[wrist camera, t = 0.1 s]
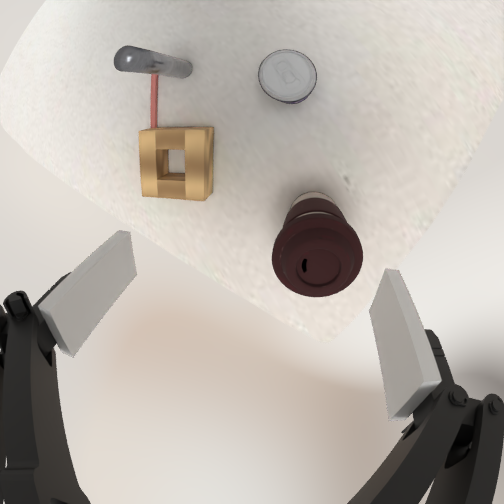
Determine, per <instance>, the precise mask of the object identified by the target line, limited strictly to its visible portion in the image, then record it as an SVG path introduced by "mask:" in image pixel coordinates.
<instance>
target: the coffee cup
mask: <svg viewBox="0 0 504 504" xmlns="http://www.w3.org/2000/svg"><path fill="white" fill-rule="evenodd" d="M362 262H363V250H362V246H361V243H360V240H359V238H358V236H357V234H356V232H355V231H354V229H353V228H352V227H351V226H350V225H349V224H348V223H347V221H346V220H345V218H344V216H343V214H342V212H341V211H340V209H339V208H338V207H337V206H336V204H335V203H334V201H333V200H332V199H331V198H330V197H328V196H327V195H325V194H322V193H319V192H309V193H306V194H303V195H301V196H300V197H298V198H297V199H296V200H295V201H294V202H293V204H292V206H291V208H290V211H289V212H288V214H287V216H286V219H285V222H284V225H283V228H282V230H281V231H280V233H279V234H278V236H277V238H276V240H275V243H274V247H273V252H272V265H273V269H274V271H275V274H276V275H277V277H278V279H279V280H280V281H281V282H282V284H284V285H285V286H286V287H287V288H288V289H290V290H291V291H293V292H295V293H298V294H300V295H304V296H309V297H324V296H330V295H333V294H336V293H338V292H340V291H342V290H344V289H345V288H346V287H348V286H349V285H350V284H351V283H352V282H353V281H354V280H355V278H356V277H357V275H358V274H359V272H360V269H361V266H362Z"/></svg>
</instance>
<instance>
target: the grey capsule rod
mask: <svg viewBox="0 0 504 504" xmlns="http://www.w3.org/2000/svg"><path fill="white" fill-rule="evenodd" d="M114 66H115V68H116V69H117V70H119V71H125V72H137V73H147V74H155V75H163V76H170V77H177V78H186V77H188V76H189V75H190V74H191V72H192V65H191V63H190V62H188V61H185V60H182V59H179V58H175V57H172V56H169V55H165V54H161V53H158V52H154V51H150V50H146V49H142V48H138V47H133V46H124V47H122V48H121V49H119V50H118V52H117V53H116V55H115V57H114Z"/></svg>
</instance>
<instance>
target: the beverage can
mask: <svg viewBox="0 0 504 504" xmlns="http://www.w3.org/2000/svg"><path fill="white" fill-rule="evenodd" d="M258 77H259V82H260V85H261V87H262V89H263V90H264V91H265V92H266V93H267V94H268V95H269V96H270V97H272V98H274V99H276V100H278V101H281V102H284V103H288V104H295V103H299V102H301V101H303V100H305V99H306V98H307V97H308V96H309V95H310V93H311V92H312V90H313V89H314V87H315V85H316V81H317V73H316V69H315V67H314V65H313V63H312V62H311V60H310V59H309V58H308V57H307V56H305V55H304V54H302V53H300V52H298V51H294V50H279V51H276V52H273V53H271V54H270V55H268V56H267V57H266V58H265V59H264V60H263V62H262V63H261V65H260V68H259V72H258Z"/></svg>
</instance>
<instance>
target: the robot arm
mask: <svg viewBox="0 0 504 504" xmlns="http://www.w3.org/2000/svg"><path fill="white" fill-rule="evenodd" d="M136 275H137V272H136V266H135V261H134V255H133V249H132V242H131V235H130V232H127V231H120V230H119V231H117V232H116V233H115V234H114V235H113V236H112V237H110V238H109V239H108V240H107V241H106V242H104V243H103V244H102V245H101V246H100V247H99V248H98V249H96V251H94V252H93V253H92V254H91V255H90V256H89V257H88V258H86V259H85V260H84V261H83V262H82V263H81V264H80V265H79V266H78V267H77V268H76V269H74V271H72V272H70V273H68V274H66V275H65V276H63V277H61V278H60V279H59V280H58V281H57V282H56V283H55V285H53V286H52V287H51V289H50V290H48V291H47V292H46V293H45V294H44V295H43V296H42V297H41V298H40V299H39V300H38V302H37V303H36V304H35V305H33V307H32V306H31V303H30V301H29V299H28V297H27V294H26V293H25V292H24V291H16V292H13V293H11V294H10V295H9V296H8V297H7V298H6V299H5V300H4V302H3V305H4V307H5V309H6V311H7V313H5V311H4V309H3V307H2V306H1V305H0V349H1V352H0V504H3V501H4V502H5V504H91V503H90V501H89V500H88V498H87V496H86V495H85V494H84V493H83V491H82V490H81V488H80V487H79V484H78V481H77V478H76V475H75V471H74V468H73V464H72V460H71V457H70V452H69V448H68V445H67V439H66V434H65V429H64V424H63V418H62V412H61V406H60V399H59V391H58V380H57V368H56V354H55V350H54V348H53V347H54V346H55V345H56V343H57V345H58V347H59V348H60V350H61V352H62V353H65V354H66V355H69V356H71V357H74V356H75V354H76V353H77V352H78V350H79V349H80V347H81V346H82V345H83V343H84V342H85V340H86V339H87V338H88V336H89V335H90V334H91V332H92V331H93V330H94V328H95V327H96V326H97V324H98V323H99V322H100V320H101V319H102V318H103V316H104V315H105V314H106V313H107V311H108V310H109V308H110V307H111V306H112V305H113V303H114V302H115V301H116V300H117V298H118V297H119V296H120V295H121V294H122V292H123V291H124V290H125V289H126V287H127V286H128V285H129V284H130V282H131V281H132V280H133V279H134V278H135V276H136ZM369 313H370V317H371V321H372V326H373V330H374V335H375V339H376V345H377V349H378V355H379V360H380V365H381V371H382V377H383V383H384V389H385V396H386V403H387V411H388V419H389V421H398V420H406V419H407V417H409V416H410V414H412V413H413V418H414V421H413V422H412V423H411V424H409V425H408V426H407V427H406V428H405V429H404V430H403V431H402V433H404V432H405V433H404V434H403V436H402V437H401V439H400V440H399V442H398V443H397V444H396V446H395V447H394V448H393V450H392V451H391V453H390V454H389V455H388V457H387V458H386V459H385V460H384V462H383V463H382V464H381V466H380V467H379V468H378V469H377V471H376V472H375V473H374V474H373V475H372V477H371V478H370V479H369V480H368V481H367V483H366V484H365V485H364V486H363V487H362V488H361V489H360V490H359V492H358V493H357V494H356V495H355V496H354V497H353V498H352V499H351V500H350V501H349V502H348V503H347V504H418V503H419V502H420V501H421V499H422V497H423V496H424V494H425V493H426V491H427V490H428V488H429V486H430V485H431V483H432V482H433V480H434V482H433V485H432V487H431V490H430V493H429V495H428V498H427V501H426V503H425V504H492V501H493V497H494V493H495V489H496V484H497V479H498V474H499V468H500V462H501V456H502V448H503V438H504V403H503V401H502V399H501V398H500V397H499V396H497V395H496V394H489V395H487V396H486V397H485V398H484V399H483V400H482V401H480V400H476V399H472V398H469V397H468V394H467V393H466V391H465V390H464V389H463V388H462V387H461V386H459V385H456V384H455V383H454V380H453V377H452V374H451V371H450V369H449V365H448V363H447V360H446V357H444V356H445V354H444V352H443V349H442V346H441V344H440V341H439V339H438V337H437V336H436V335H435V334H434V332H433V331H432V330H426V329H424V327H423V325H422V322H421V320H420V317H419V315H418V312H417V310H416V307H415V305H414V303H413V301H412V298H411V296H410V294H409V291H408V289H407V287H406V284H405V282H404V280H403V278H402V276H401V274H400V271H399V270H393V269H386V268H385V271H384V274H383V277H382V280H381V282H380V285H379V287H378V290H377V293H376V295H375V298H374V300H373V303H372V305H371V308H370V310H369ZM6 458H7V467H6V468H5V466H6V465H5V464H6ZM434 478H435V479H434Z"/></svg>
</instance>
